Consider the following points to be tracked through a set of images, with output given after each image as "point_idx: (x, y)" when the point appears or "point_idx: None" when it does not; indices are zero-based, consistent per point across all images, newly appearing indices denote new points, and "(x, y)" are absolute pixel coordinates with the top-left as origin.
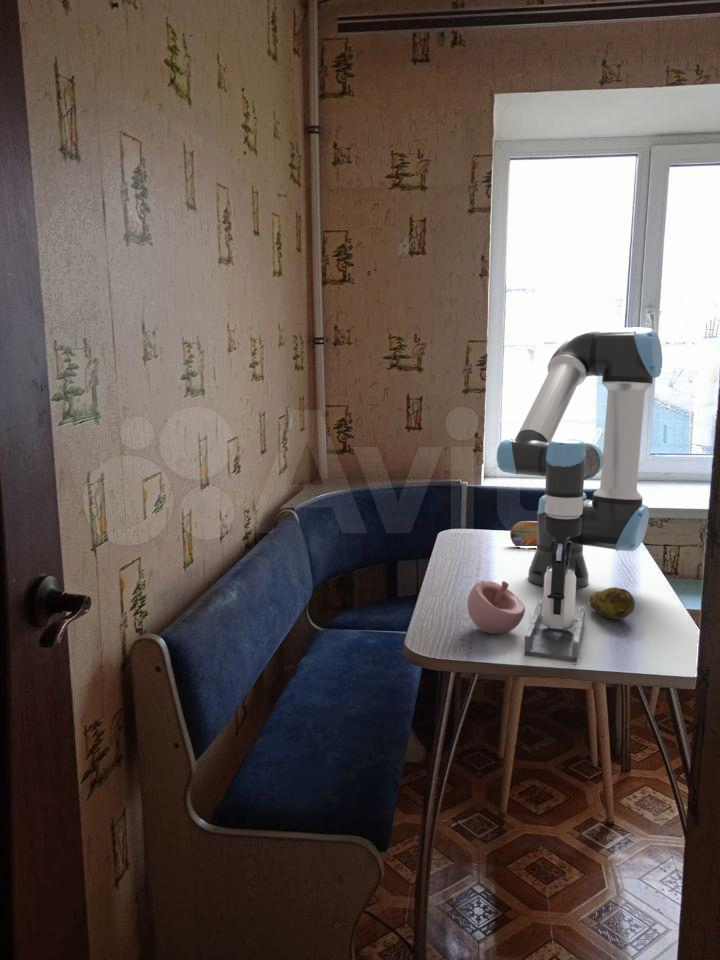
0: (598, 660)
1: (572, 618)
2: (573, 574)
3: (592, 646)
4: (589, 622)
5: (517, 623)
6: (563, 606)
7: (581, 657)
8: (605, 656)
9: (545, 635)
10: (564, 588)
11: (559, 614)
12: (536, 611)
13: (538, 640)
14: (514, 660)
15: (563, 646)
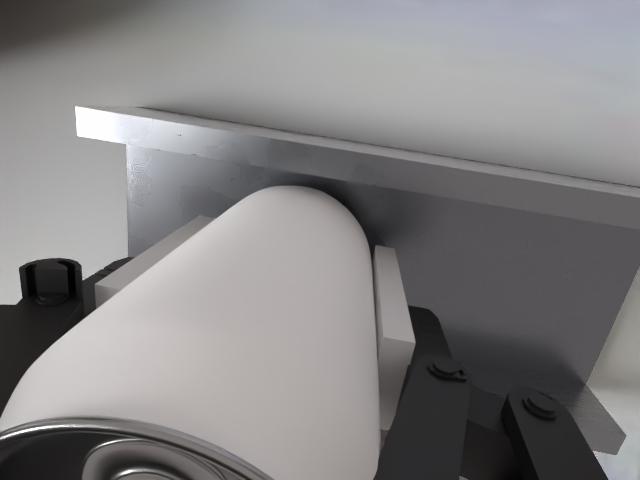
0: (625, 79)
1: (331, 208)
2: (219, 407)
3: (430, 92)
4: (93, 75)
5: (383, 445)
6: (406, 314)
7: (584, 161)
8: (568, 35)
9: None
10: (403, 408)
11: (429, 314)
12: None
13: (450, 340)
14: (618, 421)
15: (518, 243)
